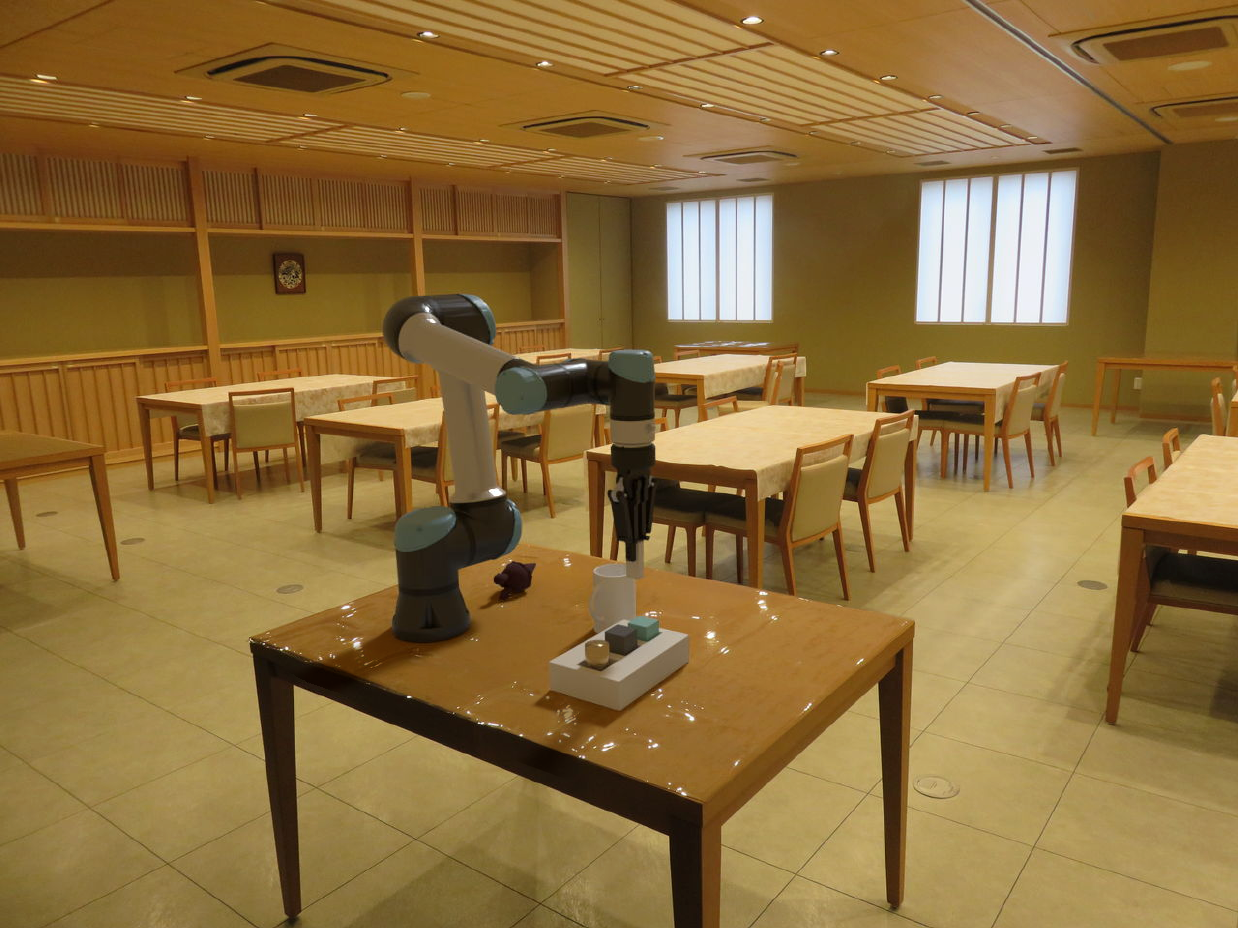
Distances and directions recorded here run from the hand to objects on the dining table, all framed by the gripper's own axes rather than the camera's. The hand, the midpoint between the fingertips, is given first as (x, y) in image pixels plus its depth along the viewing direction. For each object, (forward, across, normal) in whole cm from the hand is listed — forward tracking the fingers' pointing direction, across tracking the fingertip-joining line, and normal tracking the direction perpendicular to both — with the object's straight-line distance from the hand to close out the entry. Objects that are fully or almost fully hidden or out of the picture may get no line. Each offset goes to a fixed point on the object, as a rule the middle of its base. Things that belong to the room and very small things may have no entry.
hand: (635, 577), depth 156 cm
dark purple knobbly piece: (+17, +20, +43) cm, 50 cm away
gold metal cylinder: (+13, -12, 0) cm, 17 cm away
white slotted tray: (+16, -5, 0) cm, 17 cm away
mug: (+17, +11, +13) cm, 23 cm away
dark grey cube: (+13, -5, 0) cm, 13 cm away
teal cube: (+13, +2, 0) cm, 14 cm away
